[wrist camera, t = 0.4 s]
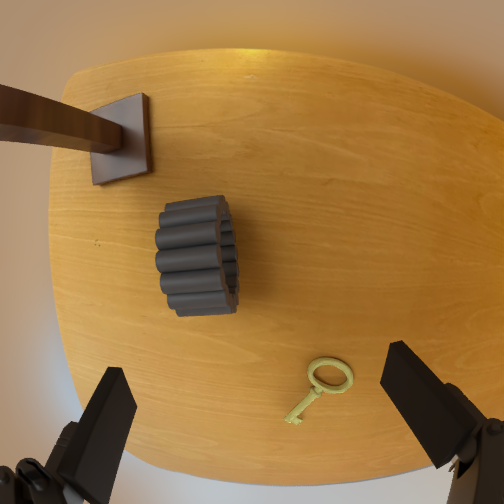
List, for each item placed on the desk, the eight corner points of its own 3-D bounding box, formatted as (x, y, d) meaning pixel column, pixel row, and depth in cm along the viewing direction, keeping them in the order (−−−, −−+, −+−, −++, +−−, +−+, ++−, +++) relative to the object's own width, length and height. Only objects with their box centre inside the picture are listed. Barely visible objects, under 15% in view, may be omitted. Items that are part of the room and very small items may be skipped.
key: (281, 414, 36) (282, 424, 34) (313, 352, 33) (316, 361, 31) (324, 420, 36) (326, 430, 34) (360, 362, 33) (364, 370, 31)
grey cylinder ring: (230, 194, 30) (208, 195, 19) (242, 289, 32) (230, 335, 21) (186, 200, 30) (145, 206, 19) (201, 292, 32) (172, 337, 22)
